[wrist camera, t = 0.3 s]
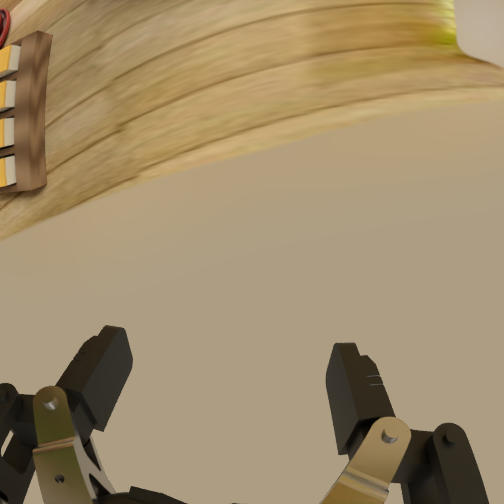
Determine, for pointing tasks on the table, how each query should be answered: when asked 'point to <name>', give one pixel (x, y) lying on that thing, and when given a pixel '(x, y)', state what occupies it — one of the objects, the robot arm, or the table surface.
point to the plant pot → (4, 24)
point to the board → (29, 113)
